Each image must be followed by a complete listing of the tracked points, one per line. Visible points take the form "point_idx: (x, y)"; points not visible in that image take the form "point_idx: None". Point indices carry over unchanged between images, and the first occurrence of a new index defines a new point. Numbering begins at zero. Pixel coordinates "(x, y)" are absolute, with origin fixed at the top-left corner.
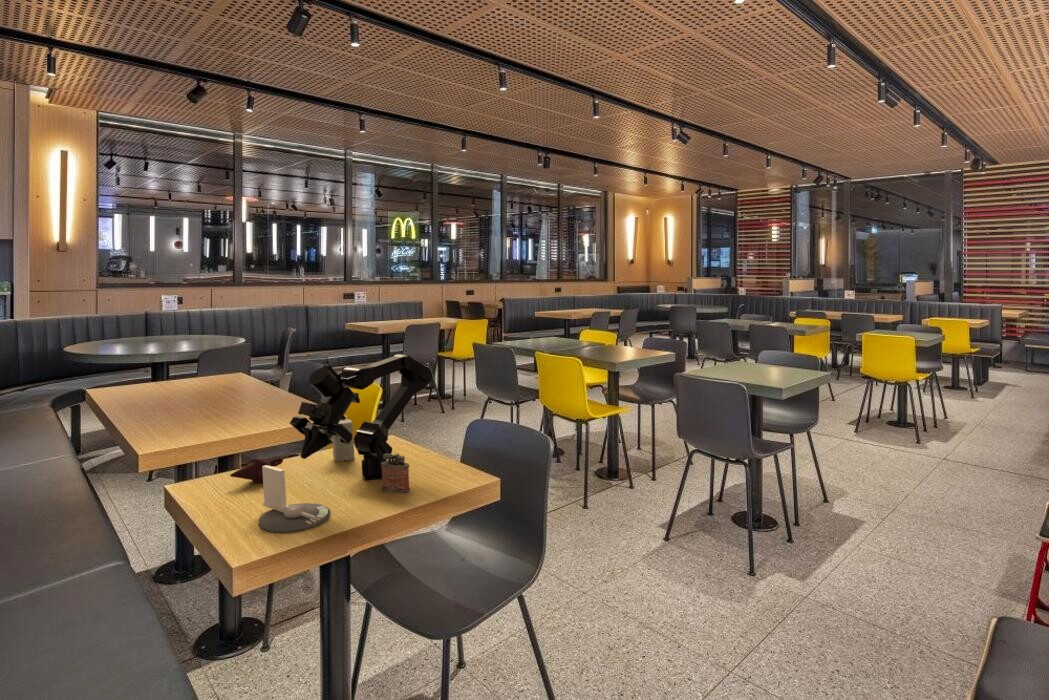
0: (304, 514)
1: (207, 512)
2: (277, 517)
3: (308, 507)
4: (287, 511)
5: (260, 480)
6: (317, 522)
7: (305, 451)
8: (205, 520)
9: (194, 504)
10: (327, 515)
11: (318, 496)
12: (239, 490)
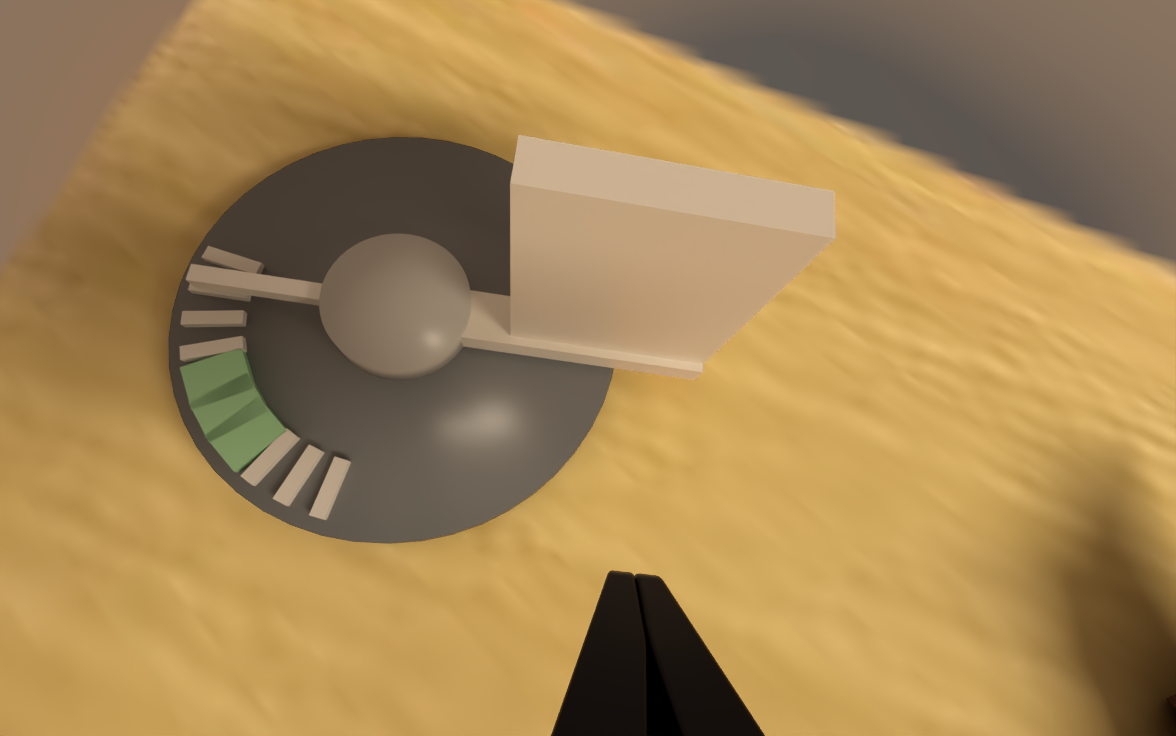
0: (284, 279)
1: (924, 219)
2: (489, 260)
3: (421, 458)
4: (403, 243)
5: (1172, 704)
6: (182, 291)
7: (600, 637)
8: (833, 148)
9: (1084, 268)
10: (185, 402)
11: None
12: (1124, 532)
